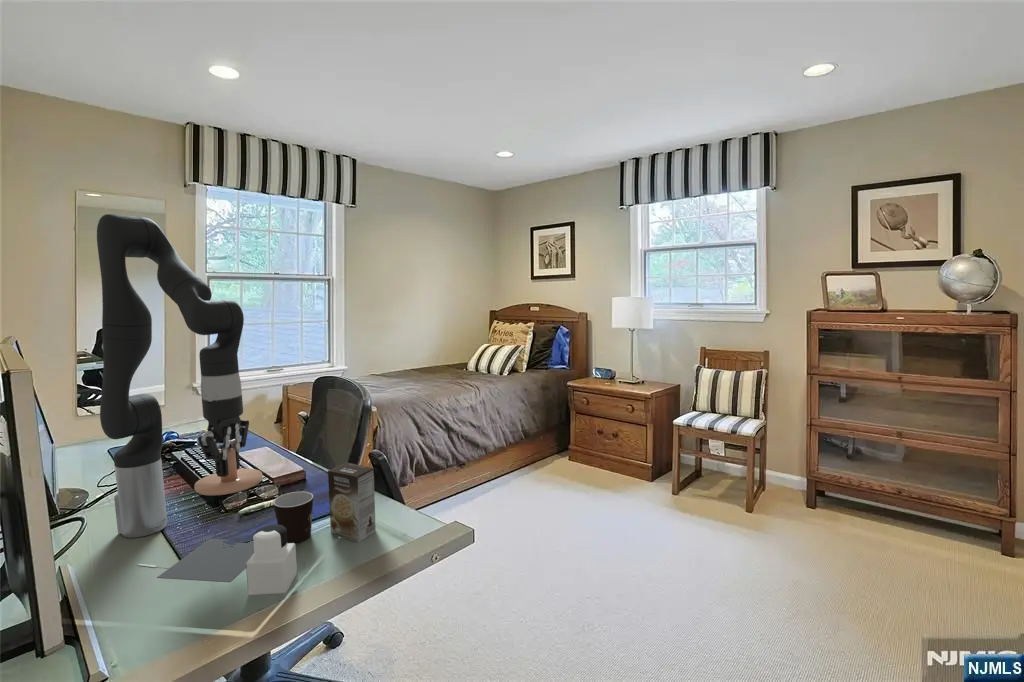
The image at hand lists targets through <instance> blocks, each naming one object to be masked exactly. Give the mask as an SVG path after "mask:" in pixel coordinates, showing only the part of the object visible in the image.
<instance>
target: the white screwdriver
mask: <svg viewBox="0 0 1024 682" xmlns="http://www.w3.org/2000/svg"><path fill="white" fill-rule="evenodd" d="M136 566H139V567H140V566H141V567H148V568H158V569H161V567H159V566H157V565H152V564H145V563H137V565H136ZM164 569H166V570H168V569H169V568H167V567H164Z"/></svg>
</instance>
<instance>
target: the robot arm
mask: <svg viewBox="0 0 1024 682" xmlns="http://www.w3.org/2000/svg"><path fill="white" fill-rule="evenodd" d="M96 244H97V254H98V262H99V269H100V276H101V278H100V279H101V293H102V294H101V295H102V296H101V297H102V298H101V299H102V300H101V301H102V302H101V303H102V316H101V317H102V318H101V322H102V323H101V327H102V328H101V330H102V333H101V335H102V351H103V354H102V355H103V356H102V357H103V359H102V361H103V364H102V365H103V371H102V386H101V396H100V407H99V419H100V425H101V428H102V431H103V433H104V435H106V437H108V438H109V439H111V440H119V439H120V440H121V439H125V438H129V437H131V439H129V441H128V443H125V445H124V446H122V447H121V448H120V449H118V450H117V451H116V452H115V453H114V455H113V464H114V472H115V482H116V489H117V494H115V495H114V497H113V500H114V508H115V519H116V526H117V534H119V535H120V534H121V535H122V537H124V538H130V539H131V538H141V537H146V536H149V535H153V534H155V533H158V532H161V531H162V530H163V529H165V528H166V527H167V525H168V516H167V505H166V495H165V494H166V493H165V485H164V484H165V483H164V474H163V463H162V453H161V452H162V448H163V445H164V443H163V440H164V439H163V417H162V416H163V415H162V414H163V413H162V409H161V405H160V403H159V401H158V400H157V398H156V397H155V396H154V395H152V394H150V393H139V394H135V395H134V394H133V395H130V387H131V384H132V383H131V382H132V379H133V377H134V374H135V373H136V371H137V370H138V368H139V366H140V365H141V364H142V362H143V361H144V359H145V357H146V356H147V354H148V351H149V349H150V348H151V345H152V341H153V337H152V336H153V333H152V332H153V331H152V329H153V328H152V327H153V319H152V314H151V312H150V310H149V308H148V306H147V305H146V304H145V302H144V300H143V299H142V298H141V296H140V295H139V293H138V292H137V291H136V289H135V288H134V287H133V285H132V284H131V281H130V279H129V276H128V271H127V265H126V264H127V263H126V258H138V259H140V258H141V259H142V258H148V259H150V260H151V261H153V262H154V263H155V264H157V271H156V272H157V274H156V276H157V277H156V280H157V282H158V285H159V286H160V289H162V291H163V292H164V293H165V294H166V295H167V296H168V297H169V298H170V299H171V300H172V301H173V302H174V303H175V304H176V305H177V307H178V310H179V311H180V313H181V315H182V318H183V320H184V323H185V324H186V326H187V328H188V329H189V330H190V331H191V332H192V333H195V334H197V335H199V336H209V335H211V336H212V335H217V336H216V339H215V341H214V342H213V343H212V344H210V345H207V346H204V347H203V348H201V349H200V351H199V354H198V355H199V356H198V357H199V366H200V377H201V378H200V395H201V404H202V405H201V407H202V416H203V418H204V419H205V420H206V421H208V425H207V430H206V431H207V432H206V433H205V434H204V435H200V436H198V438H197V441H198V444H199V445H200V448H201V450H202V453H203V454H204V457H205V458H206V460H207V461H208V460H209V461H211V460H213V461H214V464H215V473H216V474H217V476H218V477H226V476H228V474H229V473H228V461H227V459H226V458H227V449H228V448H235V452H236V464H237V470H238V469H241V467H240V465H241V463H240V452H241V450H242V448H245V447H246V445H247V440H248V439H247V438H248V432H249V425H250V420H249V419H241V417H240V416H242V415H243V414H244V405H243V404H244V403H243V391H242V382H241V376H240V370H239V369H240V368H239V359H238V356H239V355H238V352H239V347H240V342H241V337H242V334H243V333H242V332H243V330H244V329H243V327H244V323H245V321H244V319H245V317H244V312H243V310H242V307H241V306H240V304H238V303H237V301H235V300H232V299H214V300H213V299H212V297H213V296H212V295H213V293H212V290H211V289H210V287H209V286H208V285H207V283H206V282H204V280H202V278H200V277H199V276H198V275H197V273H195V272H194V271H193V270H192V269H191V268H190V267H189V266H188V265H187V264H186V262H185V261H183V259H182V257H181V256H180V254H179V253H178V252H177V250H176V249H175V247H174V245H173V244H172V243H171V241H170V240H169V239H168V237H167V235H166V234H165V233H164V231H163V230H162V229H161V228H160V226H159V225H158V224H157V223H156V222H155V221H153V220H152V219H150V218H148V217H145V216H137V215H136V216H135V215H128V214H127V215H124V214H114V213H111V214H110V213H106V214H104V215H102V216H101V217H100V218H99V219H98V223H97V226H96ZM219 450H221V454H220V453H219Z"/></svg>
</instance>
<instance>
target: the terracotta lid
mask: <svg viewBox="0 0 1024 682" xmlns="http://www.w3.org/2000/svg"><path fill="white" fill-rule="evenodd" d="M219 453H220V454H221V449H219ZM226 459H227V461H228V473H229V474H228V476H226V477H218V476H217V474H216V472H214V473H212V474H211V473H210V474H209V475H206V476H203V477H202V478H201V479H200V478H199V480H197V481H195V483H194V485H193V486H194V492H196V494H199V495H203V496H223V495H224V496H225V495H229V494H236V493H238V492H239V493H240V492H242V491H246V490H249V489H251V488H253V487H255V486H256V485H258V484H260V483H261V482H262V481H263V472H262V471H261V470H259V469H256V468H239V469H238V470H237V464H236V452H235V448H228V449H227V458H226Z"/></svg>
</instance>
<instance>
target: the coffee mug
mask: <svg viewBox="0 0 1024 682" xmlns="http://www.w3.org/2000/svg"><path fill="white" fill-rule="evenodd" d="M313 502H314V494H313V493H311V492H309V491H293V492H288V493H284V494H282V495H279V496H277V497H276V498H274V499H273V503H272V505H273V508H274V514H275V519H276V523H277V524H276V525H283V526H284V527H285V528H286V529H287V543H295V545H298V544H302V543H304V542H306V541H307V540H309V539H310V538H311V535H312V521H313V519H312V518H313V506H314V503H313Z"/></svg>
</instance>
